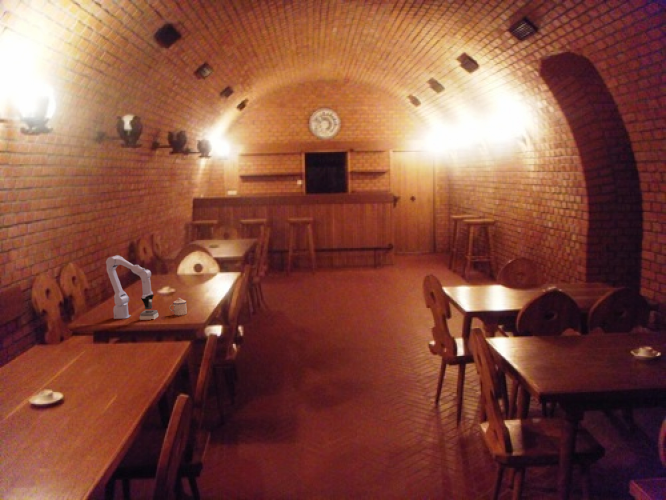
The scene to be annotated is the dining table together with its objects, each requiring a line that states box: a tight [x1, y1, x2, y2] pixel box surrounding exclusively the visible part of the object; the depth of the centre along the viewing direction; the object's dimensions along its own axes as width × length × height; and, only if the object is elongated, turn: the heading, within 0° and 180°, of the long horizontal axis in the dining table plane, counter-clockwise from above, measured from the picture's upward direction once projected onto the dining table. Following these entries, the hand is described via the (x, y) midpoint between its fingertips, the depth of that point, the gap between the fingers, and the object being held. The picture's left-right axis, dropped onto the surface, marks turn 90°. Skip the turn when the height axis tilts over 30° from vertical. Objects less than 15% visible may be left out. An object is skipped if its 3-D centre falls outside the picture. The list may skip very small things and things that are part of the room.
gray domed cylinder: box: [144, 299, 153, 310], centre depth 412 cm, size 5×5×6 cm
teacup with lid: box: [168, 297, 188, 316], centre depth 420 cm, size 12×9×12 cm
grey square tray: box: [139, 309, 159, 321], centre depth 413 cm, size 10×9×4 cm
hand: (148, 306), depth 412 cm, fingers closed on gray domed cylinder, 5 cm apart
